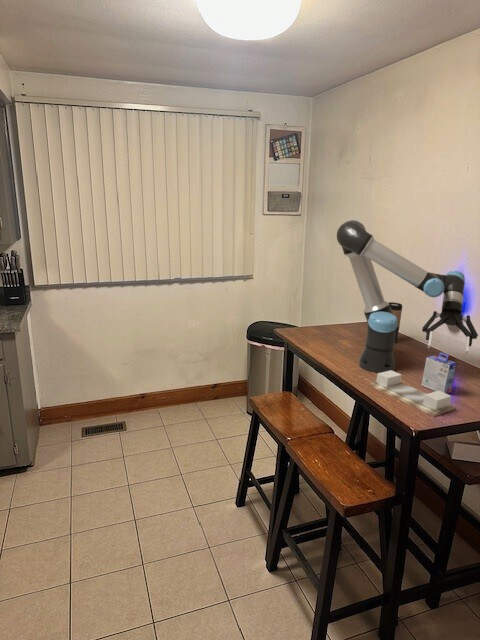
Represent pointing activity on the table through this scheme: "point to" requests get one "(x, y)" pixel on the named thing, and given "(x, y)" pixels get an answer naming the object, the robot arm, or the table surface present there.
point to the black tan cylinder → (396, 311)
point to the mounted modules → (431, 399)
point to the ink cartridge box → (439, 373)
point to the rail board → (410, 397)
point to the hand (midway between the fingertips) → (447, 349)
